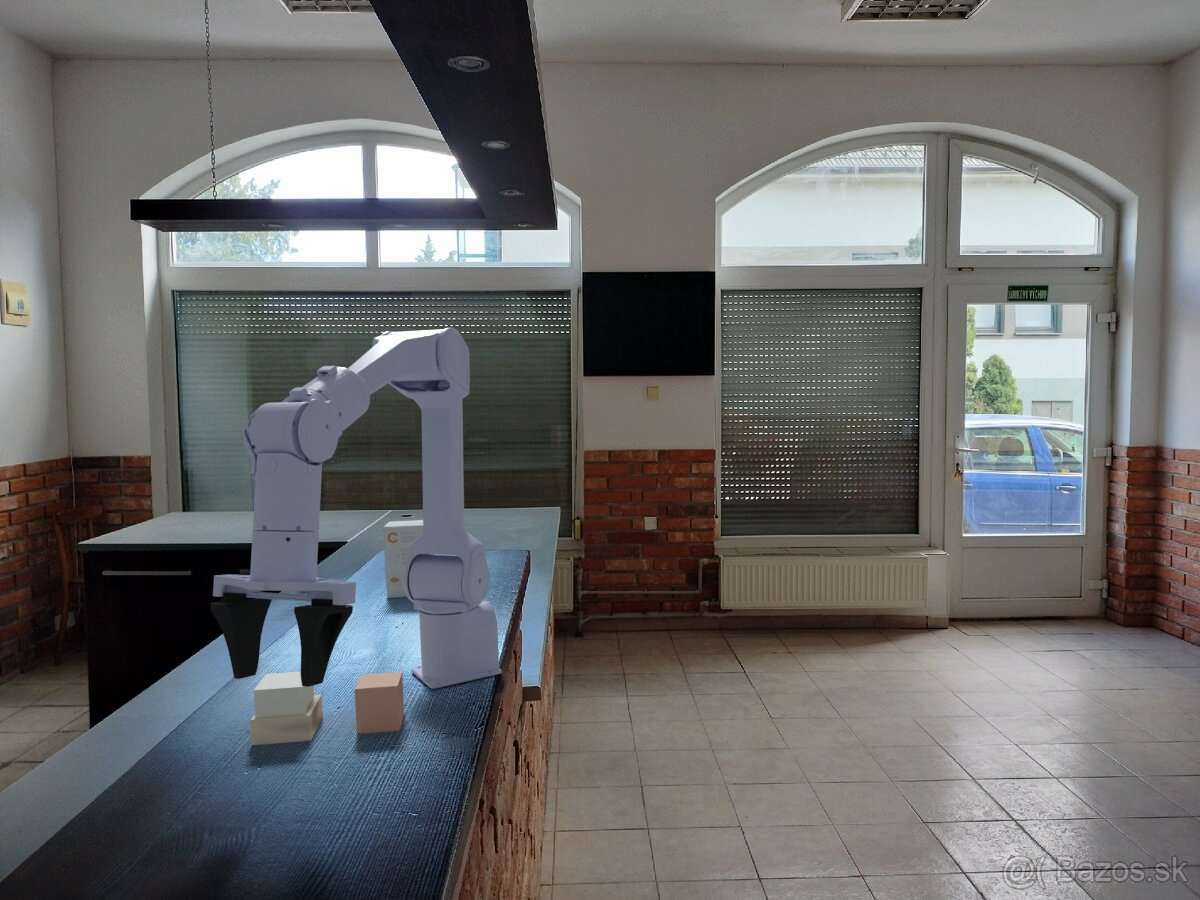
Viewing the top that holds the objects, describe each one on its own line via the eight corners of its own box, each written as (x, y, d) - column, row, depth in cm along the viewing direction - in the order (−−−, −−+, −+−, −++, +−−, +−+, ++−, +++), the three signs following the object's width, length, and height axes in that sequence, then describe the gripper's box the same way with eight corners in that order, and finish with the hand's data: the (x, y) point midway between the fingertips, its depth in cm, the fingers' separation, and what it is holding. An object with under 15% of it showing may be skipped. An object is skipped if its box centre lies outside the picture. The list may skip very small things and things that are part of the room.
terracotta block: (363, 717, 91) (361, 674, 91) (404, 714, 92) (402, 671, 92) (357, 734, 87) (354, 689, 87) (399, 730, 88) (397, 685, 87)
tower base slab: (267, 724, 91) (266, 698, 91) (323, 720, 92) (321, 694, 91) (251, 747, 85) (250, 719, 85) (311, 743, 86) (309, 715, 85)
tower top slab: (267, 700, 90) (266, 673, 90) (314, 696, 91) (312, 670, 90) (255, 718, 85) (253, 690, 85) (304, 714, 86) (303, 686, 86)
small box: (436, 587, 151) (432, 518, 150) (432, 596, 145) (429, 524, 144) (391, 590, 150) (388, 520, 149) (386, 598, 144) (382, 526, 143)
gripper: (190, 528, 73) (181, 681, 72) (322, 533, 69) (314, 697, 68) (248, 528, 80) (240, 667, 79) (372, 532, 75) (365, 681, 74)
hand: (278, 680), depth 74 cm, fingers open, 7 cm apart
